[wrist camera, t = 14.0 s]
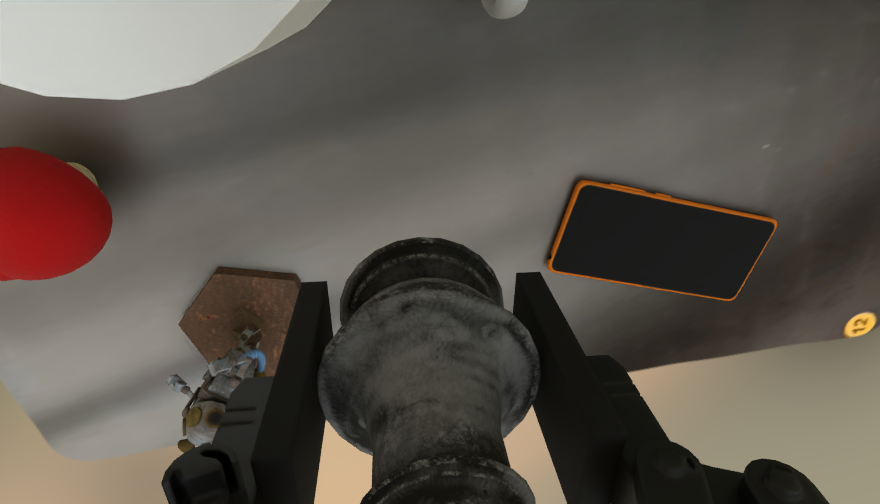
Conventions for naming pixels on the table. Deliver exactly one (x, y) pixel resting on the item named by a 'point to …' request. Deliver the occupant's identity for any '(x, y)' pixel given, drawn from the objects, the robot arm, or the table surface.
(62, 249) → the red mushroom
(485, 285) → the salt shaker
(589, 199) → the smartphone
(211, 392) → the robot figurine
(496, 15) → the mug
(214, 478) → the robot arm
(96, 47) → the container
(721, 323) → the table surface
